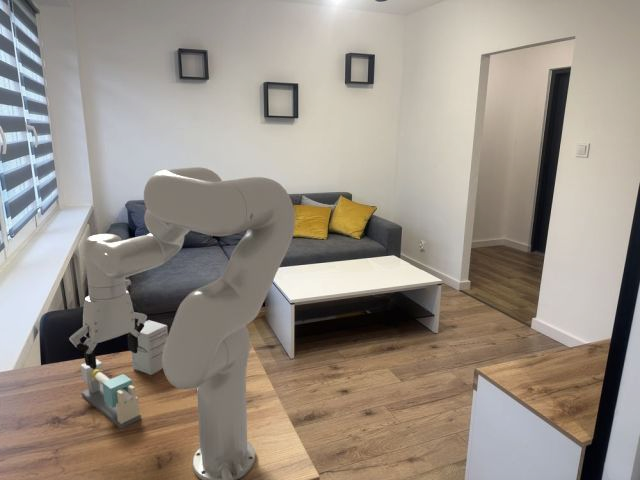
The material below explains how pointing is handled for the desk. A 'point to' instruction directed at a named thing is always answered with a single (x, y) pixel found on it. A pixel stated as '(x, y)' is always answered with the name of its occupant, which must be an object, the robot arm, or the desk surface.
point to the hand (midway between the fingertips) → (113, 358)
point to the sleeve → (115, 388)
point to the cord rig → (124, 408)
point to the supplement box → (150, 348)
